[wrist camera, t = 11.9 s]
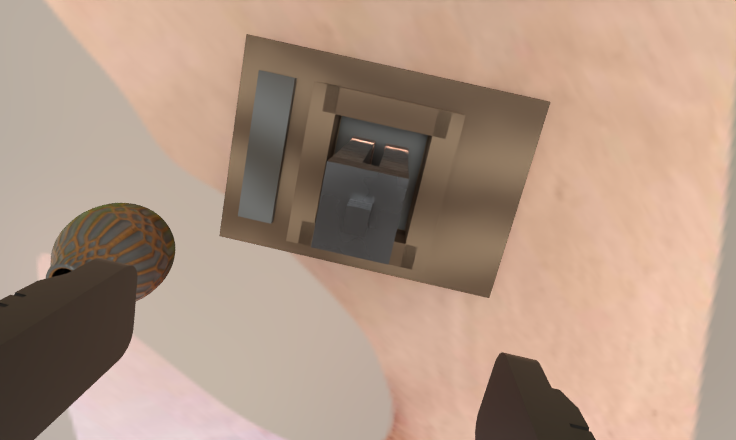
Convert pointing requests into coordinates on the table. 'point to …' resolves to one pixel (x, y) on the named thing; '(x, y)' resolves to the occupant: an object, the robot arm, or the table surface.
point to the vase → (117, 243)
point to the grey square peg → (362, 201)
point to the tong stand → (379, 159)
